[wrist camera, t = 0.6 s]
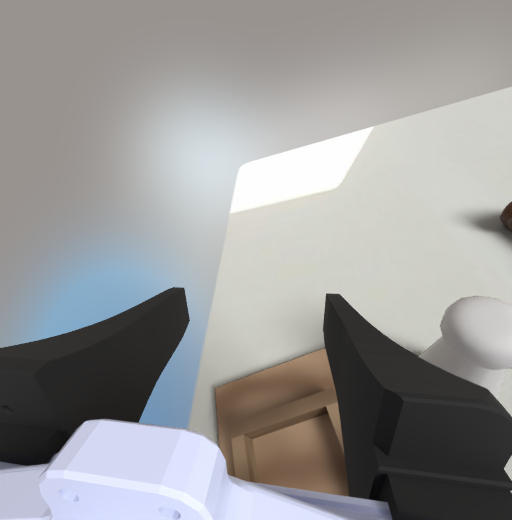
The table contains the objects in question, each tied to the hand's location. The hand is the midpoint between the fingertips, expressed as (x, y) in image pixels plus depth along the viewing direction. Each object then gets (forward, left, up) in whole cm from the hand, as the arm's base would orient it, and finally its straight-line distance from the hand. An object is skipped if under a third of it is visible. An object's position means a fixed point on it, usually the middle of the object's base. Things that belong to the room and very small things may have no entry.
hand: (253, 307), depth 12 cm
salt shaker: (-2, -12, -20) cm, 23 cm away
